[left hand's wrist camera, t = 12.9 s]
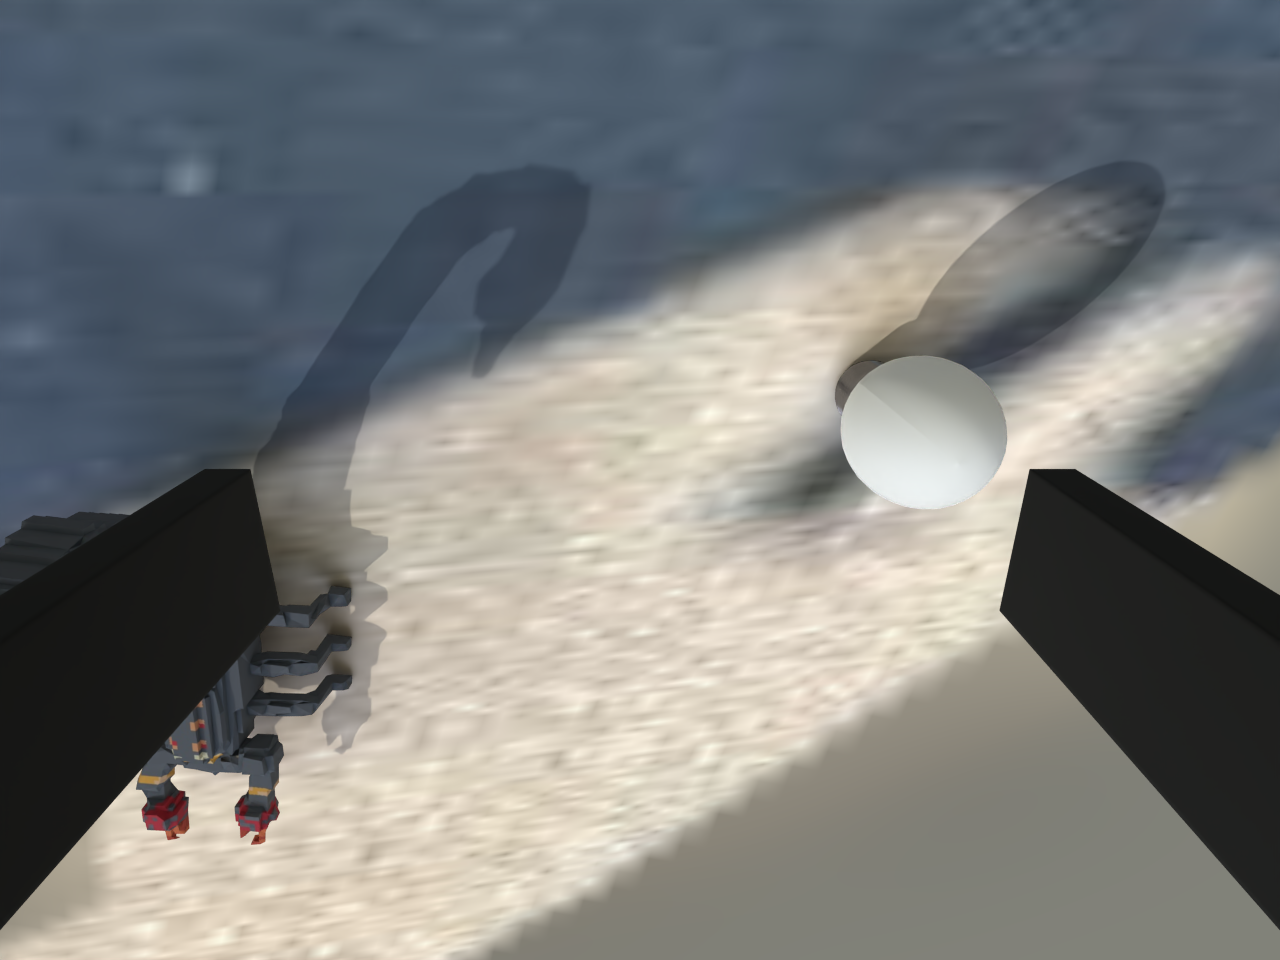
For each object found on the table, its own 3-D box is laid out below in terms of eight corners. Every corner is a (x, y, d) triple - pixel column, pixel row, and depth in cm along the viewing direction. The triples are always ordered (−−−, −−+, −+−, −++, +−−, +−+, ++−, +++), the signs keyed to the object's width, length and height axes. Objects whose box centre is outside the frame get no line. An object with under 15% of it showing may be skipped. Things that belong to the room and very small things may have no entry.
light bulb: (786, 405, 39) (838, 479, 29) (873, 305, 37) (962, 345, 27) (875, 475, 40) (955, 569, 30) (963, 382, 38) (1081, 449, 28)
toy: (349, 448, 40) (131, 634, 23) (353, 809, 49) (201, 1130, 32) (103, 416, 39) (-313, 582, 22) (155, 788, 49) (-106, 1105, 32)
